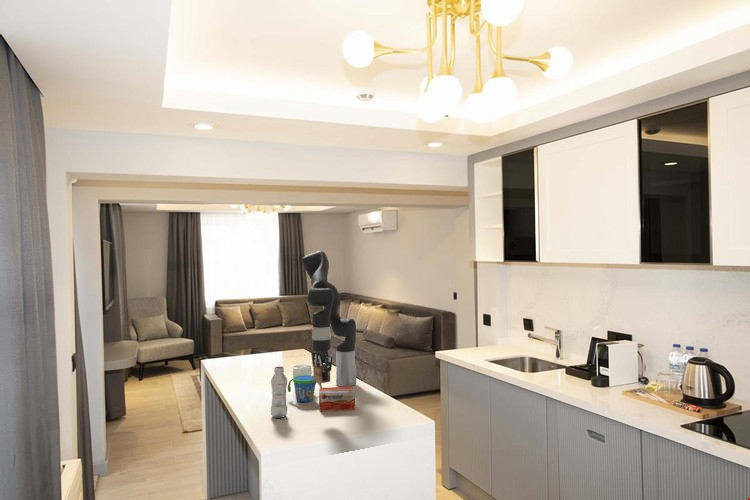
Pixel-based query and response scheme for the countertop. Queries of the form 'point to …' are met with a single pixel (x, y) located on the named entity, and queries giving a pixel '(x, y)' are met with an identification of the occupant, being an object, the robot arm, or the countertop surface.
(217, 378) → the countertop surface
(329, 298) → the robot arm
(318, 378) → the walnut block
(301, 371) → the cup
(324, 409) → the medicine box
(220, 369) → the countertop surface
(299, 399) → the snack cup
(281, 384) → the plastic bottle
